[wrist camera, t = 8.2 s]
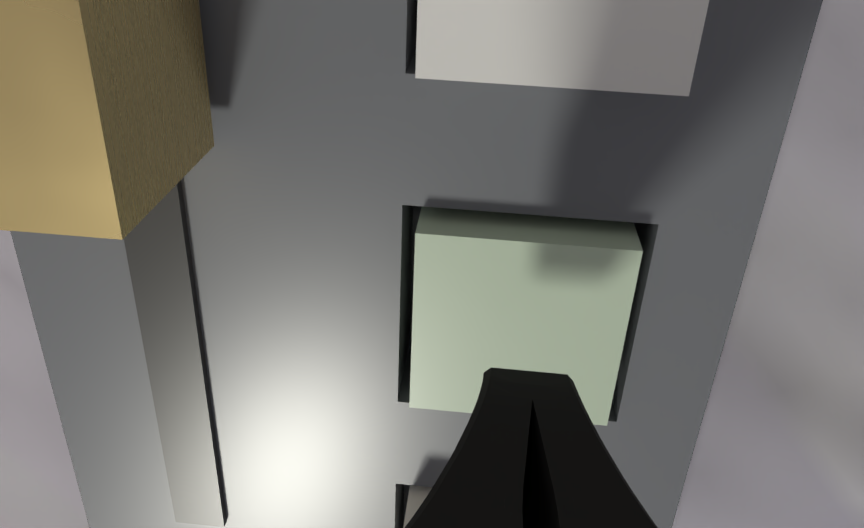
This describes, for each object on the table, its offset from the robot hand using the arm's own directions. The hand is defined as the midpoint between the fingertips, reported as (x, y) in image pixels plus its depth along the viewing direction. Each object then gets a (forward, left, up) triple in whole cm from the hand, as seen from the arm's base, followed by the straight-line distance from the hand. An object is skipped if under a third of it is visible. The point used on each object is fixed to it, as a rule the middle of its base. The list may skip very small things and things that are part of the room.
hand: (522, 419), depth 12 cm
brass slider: (+7, -5, -2) cm, 9 cm away
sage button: (0, 0, -5) cm, 5 cm away
